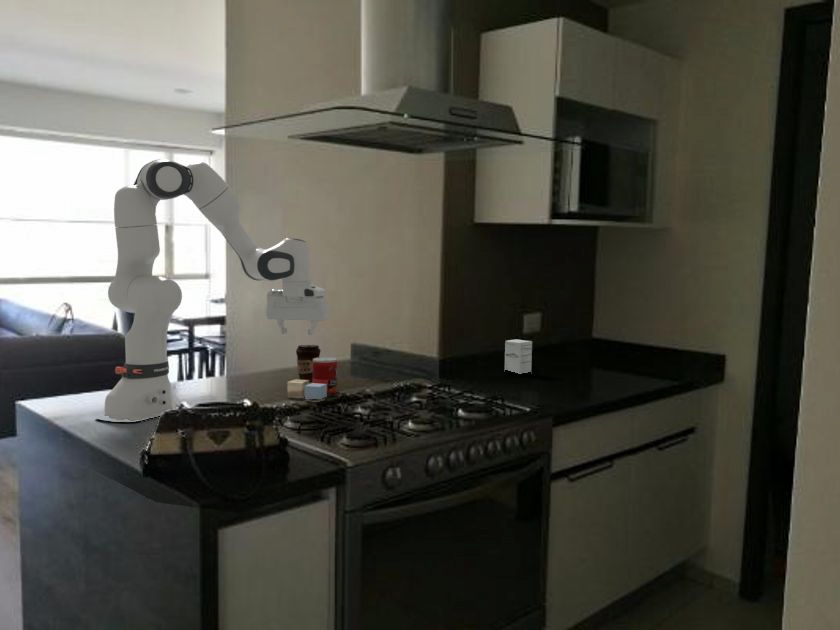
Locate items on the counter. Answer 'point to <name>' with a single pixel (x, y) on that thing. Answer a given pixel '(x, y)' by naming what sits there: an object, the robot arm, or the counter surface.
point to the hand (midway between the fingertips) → (297, 334)
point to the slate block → (315, 391)
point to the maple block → (296, 388)
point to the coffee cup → (306, 361)
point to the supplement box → (518, 356)
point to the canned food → (325, 372)
